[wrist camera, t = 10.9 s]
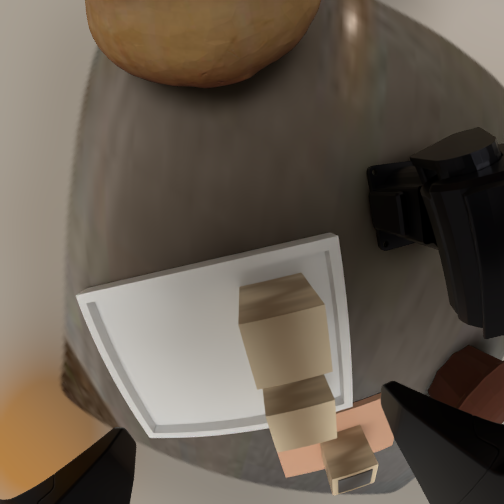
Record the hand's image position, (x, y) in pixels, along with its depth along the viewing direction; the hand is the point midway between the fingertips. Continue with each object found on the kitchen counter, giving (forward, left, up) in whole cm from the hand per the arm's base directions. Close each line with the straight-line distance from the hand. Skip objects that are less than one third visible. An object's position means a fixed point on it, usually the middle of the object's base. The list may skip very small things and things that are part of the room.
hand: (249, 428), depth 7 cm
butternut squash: (-2, -20, -13) cm, 24 cm away
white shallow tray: (+3, +5, -13) cm, 14 cm away
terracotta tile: (-6, +20, -13) cm, 25 cm away
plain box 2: (-2, +8, -12) cm, 15 cm away
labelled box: (-6, +20, -12) cm, 24 cm away
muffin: (-22, +18, -13) cm, 31 cm away
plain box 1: (-2, +1, -12) cm, 13 cm away
